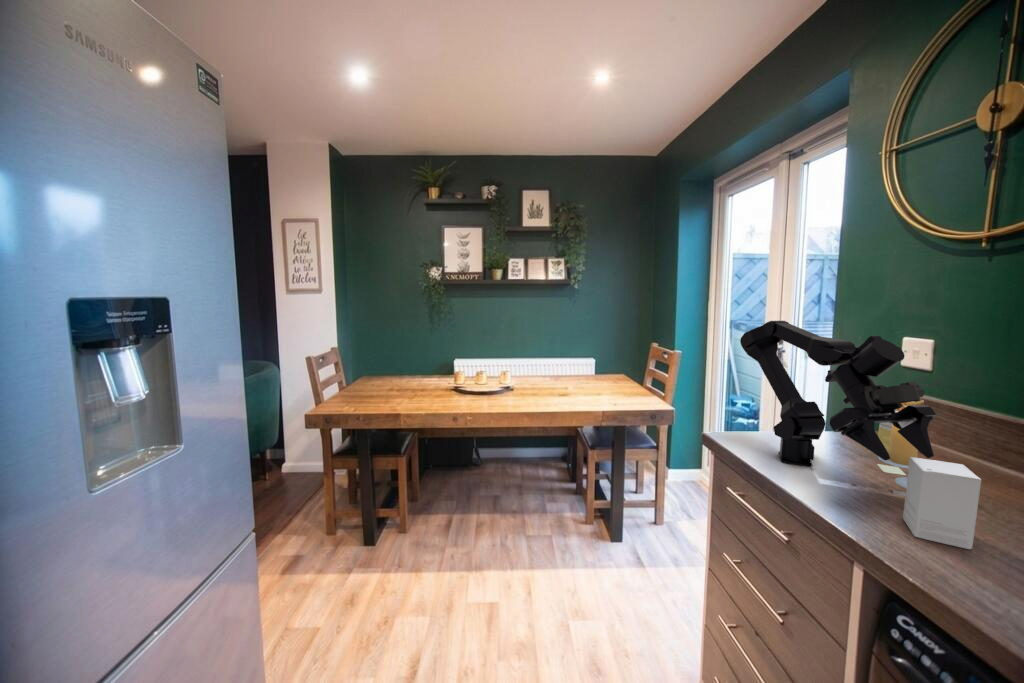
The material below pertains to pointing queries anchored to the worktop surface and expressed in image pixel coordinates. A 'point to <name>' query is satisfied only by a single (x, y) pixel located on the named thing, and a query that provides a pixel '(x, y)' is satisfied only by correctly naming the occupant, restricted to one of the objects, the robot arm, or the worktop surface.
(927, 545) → the worktop surface
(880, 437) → the candy box
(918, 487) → the supplement box
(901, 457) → the amber tube
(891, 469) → the white board
